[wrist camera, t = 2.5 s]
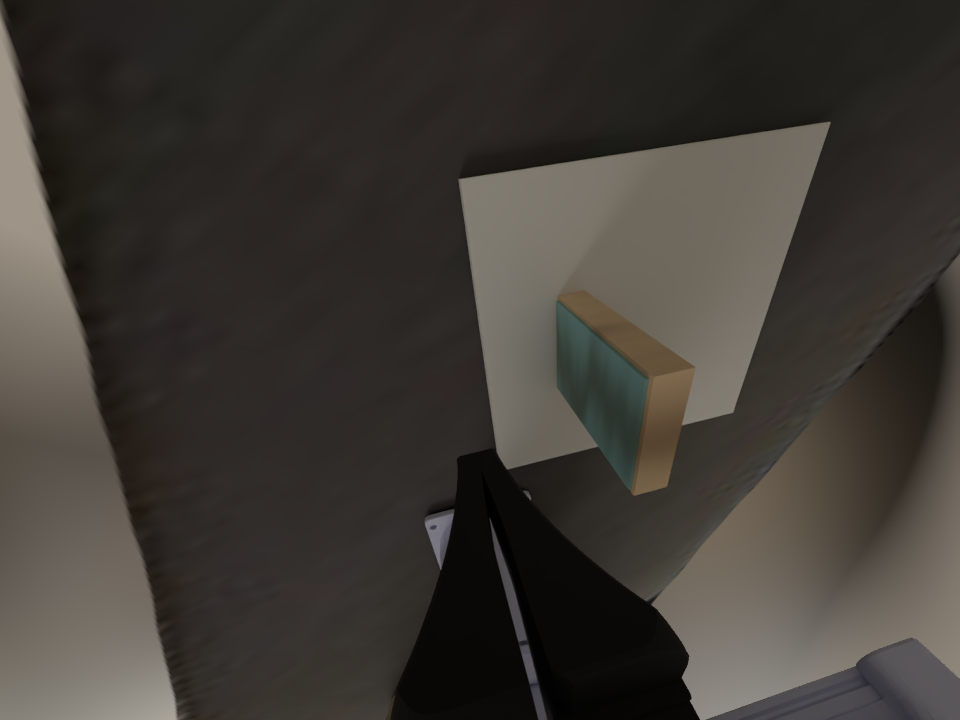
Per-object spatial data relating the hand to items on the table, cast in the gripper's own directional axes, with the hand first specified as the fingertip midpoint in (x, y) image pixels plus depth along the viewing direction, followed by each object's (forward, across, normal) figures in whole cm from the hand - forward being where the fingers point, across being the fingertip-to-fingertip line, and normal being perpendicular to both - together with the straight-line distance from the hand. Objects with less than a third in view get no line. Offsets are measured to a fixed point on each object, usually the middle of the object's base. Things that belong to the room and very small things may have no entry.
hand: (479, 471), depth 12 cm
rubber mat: (+8, -11, 0) cm, 13 cm away
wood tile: (+7, -7, 0) cm, 10 cm away
